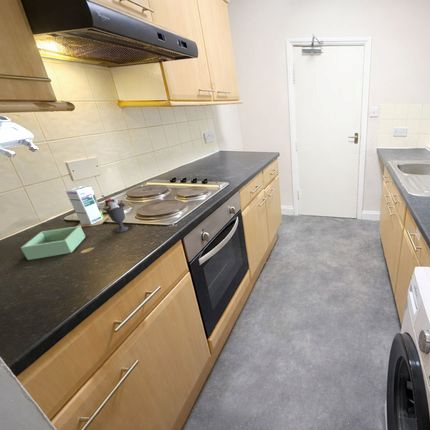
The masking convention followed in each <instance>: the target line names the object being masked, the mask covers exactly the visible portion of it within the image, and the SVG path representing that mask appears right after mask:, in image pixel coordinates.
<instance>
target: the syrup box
mask: <svg viewBox="0 0 430 430" xmlns="http://www.w3.org/2000/svg"><path fill="white" fill-rule="evenodd" d="M65 193H66V195H67V197H68V199H69V201H70V203H71V205H72V208H73V210H74V212H75V215H76V216H77V218H78V220H79V223H80V222H81V223H82V224H94V223H96V222H98V221H100V220H102V219H104V216H105V215H104V213H103V211H102V208H101V207H100V204H99V202H98V199H97V197H96V195H95V193H94V190H93V188H92V186H89V185H80V186H77V187H74V188H71V189H67V190H66V191H65Z"/></svg>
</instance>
